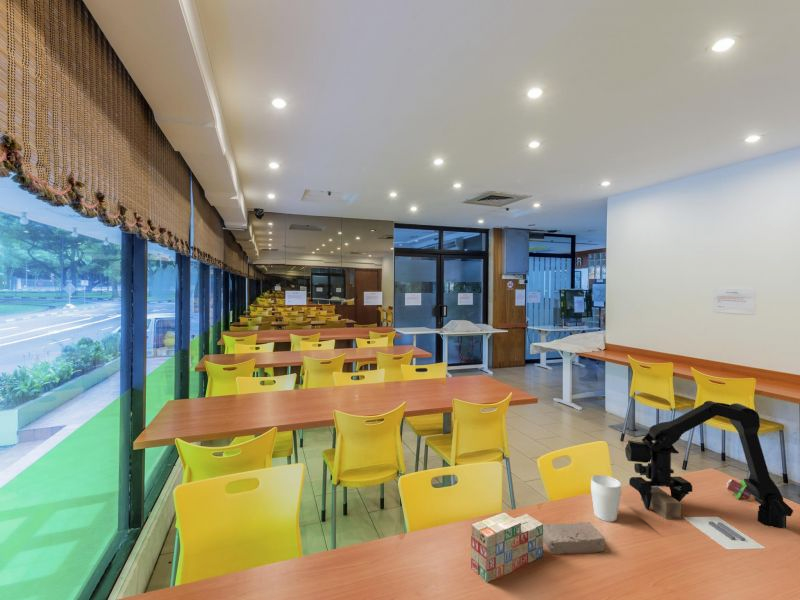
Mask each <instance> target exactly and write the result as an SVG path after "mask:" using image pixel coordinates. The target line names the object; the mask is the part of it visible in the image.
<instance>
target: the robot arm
mask: <svg viewBox="0 0 800 600" xmlns="http://www.w3.org/2000/svg"><path fill="white" fill-rule="evenodd" d="M715 417H721V418H726V419H729V422H730V423H731V425H732V426H733V427H734V429H736V431H737V433H738V436H739V440H740V443H741V447H742V451H743V453H744V456H745V457H744V458H745V460H746V463H747V468H748V471H749V477H748V478H743V480H744V481H745V483H746V490H747V491H748V492H750V494H751V495H750V496H751V497H753V498H754V500H755V502H757V503H758V504H760V505H758V510H757V522H758V523H760V524H762V525H764V526H765V527H772V528H774V529H775V528H776V529H784V528H785V529H787V530H788V531H791V532H792V530H790V529H788V528H787V517H791V516H792V515H793V513H794V510H793V508H791V506H789V505H788V504H787V503H786V502H785V501H784V497H783V495H782V493H781V491H780V489H779V487H778V486H777V484H776V483H775V482H774V480H773V479H772V477H771V476H770V472H769V469H768V465H767V463H766V460H765V456H764V452H763V449H762V445H761V442H760V438H759V435H758V433H759V431H760V427H761V423H760V422H761V421H760V415H759V413H758V411H756V410H754V409H753V408H750V407H748V406H747V405H746V406H745V405H743V404H741V403H732V404H728V403H725V402H716V401H712V400H707V401H704V402H703V404H701V405H699V406H697V407H695V408H693V409H691V410H689V411H688V412H686V413H684V414H682V415H680V416H678V417H677V418H675V419H673V420H669V421H663V422H660V423H656V424H654V425H652V426H650V427H649V429H648V433H646V435H645V436H643V438H642V439H641V441H635V440H629V439H628V440H627V443H626V444H625V445H626V446H625V448H624V452H625V457H626V459H627V461H628V462H635V463H634V472H635V474H639V476H632V477H630V478H629V483H628V484H629V486H630V487H632V488H634V490H636V491H637V492H638V493H639V495H640V498H641V497H642V500H643V501H642V500H641V501H642V502H643V506H644V508H645V509H646V510H647V511H649V510H650V509H651V507H650V503H651V498H652V493H651V492H650V491H651V490H652V487H658V488H669V490H670V491H669V492H670V496H671V497H673V498H674V499H676V500H677V501H679V502H680V503H681V501H682V500H683V499H684V498H685V497H686V496H687V495H690V493H692V492H693V485H692V483H691V482H690V481H688V480H687V479H685V478H683V477H681V476H672V474H674V473H675V470H674V469H672V454H676V455H677V454H679V453H680V452H679V450H677V449H676V447H674V444H675V443H676V442H678V441H679V440H680V438H681V437H682V436H683V434H685V433H686V432H688V431H690V430H692V429H694V428H696V427H697V426H700V425H702V424H704V423H706V422H708V421H709V420H711V419H713V418H715ZM653 441H654V442H653ZM643 463H645V464H647V465H643ZM642 476H645V478H646V479H648V480H646V479H645V478H643V477H642Z"/></svg>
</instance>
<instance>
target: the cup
mask: <svg viewBox="0 0 800 600" xmlns="http://www.w3.org/2000/svg"><path fill="white" fill-rule="evenodd" d="M590 479H591V480H590V491H591V499H592V506H593V514H594V516H595V517H596V518H598V519H599V520H602V521H604V522H615V521H617V519H618V512H619V507H620V502H621V496H622V490H621V489H622V488H621V487H622V486H621V485H622V484H621V482H620V481H619V480H618V479H616V478H614V477H612V476H608V475H604V474H596V475H593V476H591V477H590Z"/></svg>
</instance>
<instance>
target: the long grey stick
mask: <svg viewBox="0 0 800 600" xmlns="http://www.w3.org/2000/svg"><path fill="white" fill-rule="evenodd" d="M717 525H718V526H720V527H721V528H723V529H724V530H726V531H727V532H729V533H730V534H732V535H733V536H735V537H736V538H738V539H739V540H741V541H745V538H744V537H743V536H741V535H740V534H738V533H736V532H735V531H733V530H732V529H730V528H729V527H727V526H726V525H724V524H723V523H721V522H718V523H717Z"/></svg>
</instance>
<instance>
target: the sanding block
mask: <svg viewBox="0 0 800 600" xmlns="http://www.w3.org/2000/svg"><path fill="white" fill-rule="evenodd" d="M650 492H651V493H652V498H651V503H650V509H652V510H653V511H654V512H655V513H657V514H659V516H661V517H662V518H663V519H665V520H681V515H682V514H681V513H682V502H681V501H680V502H679V501H677V500H676V499H674V498H673V497H671V494H669V493H667V492H666V491H664V490H663V489H662V488H661V487H652V490H651V491H650ZM640 501H642V502H643V500H642V497H641V496H640Z"/></svg>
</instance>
